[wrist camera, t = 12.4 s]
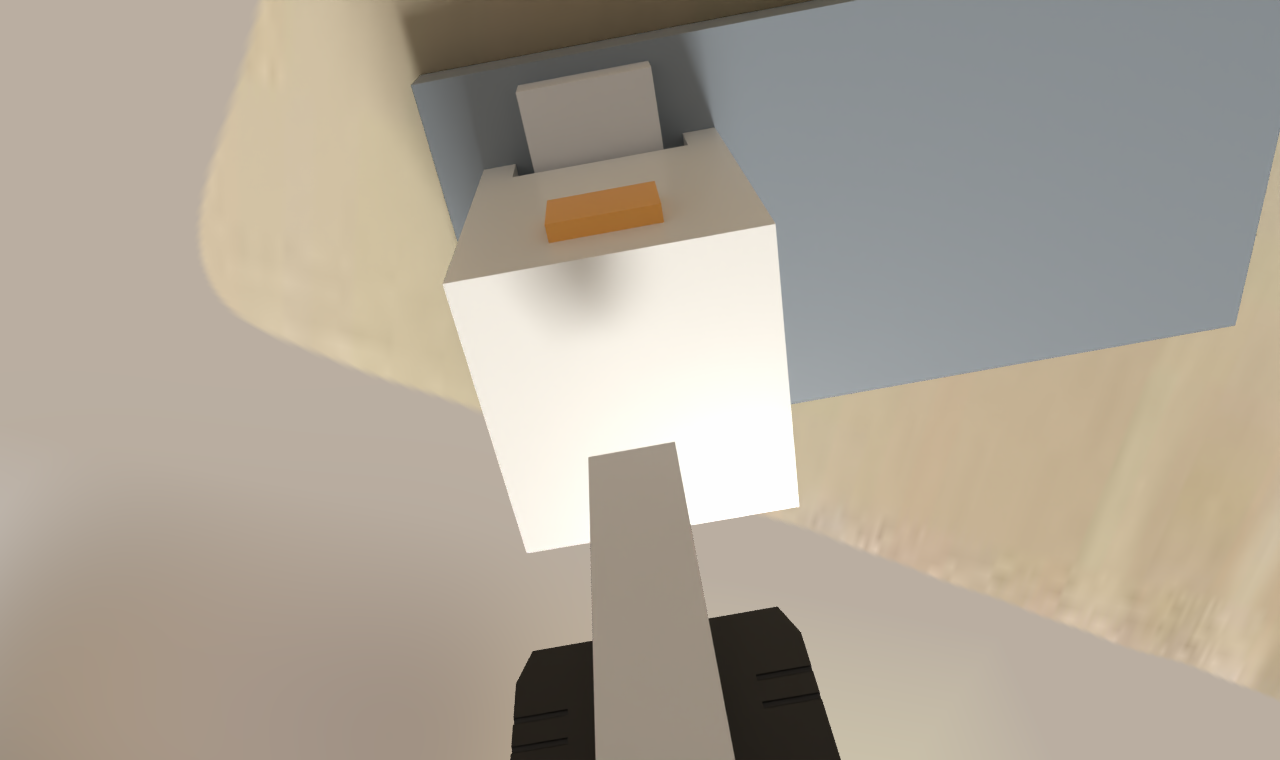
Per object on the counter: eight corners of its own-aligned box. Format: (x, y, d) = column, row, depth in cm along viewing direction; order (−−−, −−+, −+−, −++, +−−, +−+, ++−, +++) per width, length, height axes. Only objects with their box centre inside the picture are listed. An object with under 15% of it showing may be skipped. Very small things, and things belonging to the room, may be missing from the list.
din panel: (420, 75, 23) (403, 92, 21) (1285, -90, 22) (1363, -90, 20) (522, 427, 29) (518, 469, 27) (1204, 306, 28) (1257, 339, 26)
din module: (480, 155, 22) (436, 264, 16) (713, 112, 22) (773, 203, 15) (540, 383, 26) (526, 553, 19) (740, 348, 26) (799, 506, 19)
